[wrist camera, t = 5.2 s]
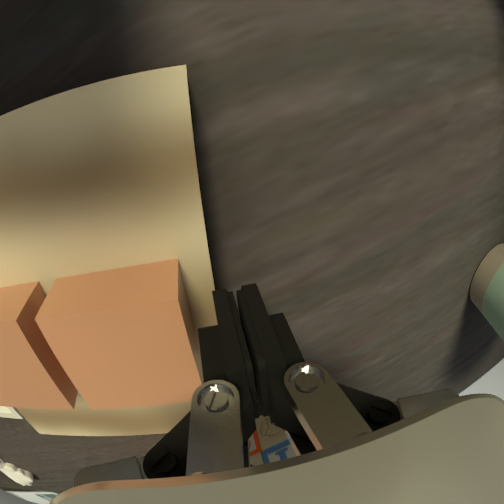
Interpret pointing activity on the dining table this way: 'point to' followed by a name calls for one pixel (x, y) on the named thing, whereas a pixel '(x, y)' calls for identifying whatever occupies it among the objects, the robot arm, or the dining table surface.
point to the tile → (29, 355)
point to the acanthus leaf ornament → (16, 473)
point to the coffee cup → (490, 288)
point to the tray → (10, 412)
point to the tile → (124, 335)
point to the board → (105, 209)
